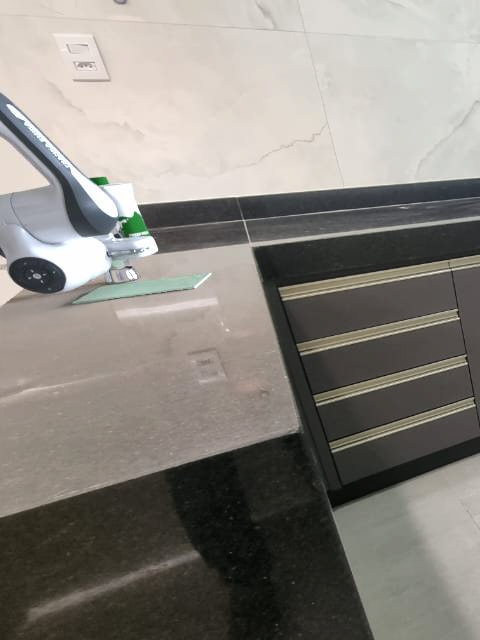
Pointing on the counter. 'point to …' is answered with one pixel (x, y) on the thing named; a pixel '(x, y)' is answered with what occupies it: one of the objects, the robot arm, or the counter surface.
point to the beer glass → (119, 262)
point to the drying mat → (143, 288)
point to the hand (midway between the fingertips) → (109, 244)
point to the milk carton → (124, 207)
